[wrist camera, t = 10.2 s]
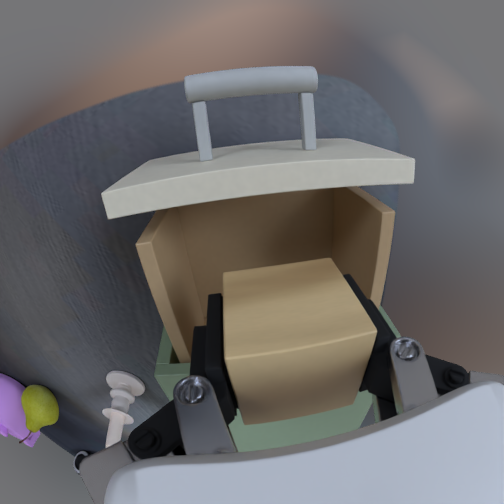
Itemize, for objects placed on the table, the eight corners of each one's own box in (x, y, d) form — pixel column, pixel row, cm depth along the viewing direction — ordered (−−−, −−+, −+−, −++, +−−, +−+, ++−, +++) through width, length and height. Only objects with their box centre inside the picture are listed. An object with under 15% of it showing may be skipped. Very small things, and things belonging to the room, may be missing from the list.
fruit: (56, 384, 29) (35, 447, 19) (69, 405, 32) (53, 462, 22) (24, 371, 28) (0, 428, 18) (38, 393, 31) (20, 446, 21)
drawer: (139, 99, 14) (82, 93, 8) (343, 79, 15) (412, 67, 8) (189, 317, 23) (181, 392, 16) (340, 295, 24) (376, 361, 17)
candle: (111, 364, 27) (91, 439, 18) (150, 381, 29) (139, 456, 20) (103, 382, 29) (86, 448, 20) (138, 397, 31) (128, 463, 21)
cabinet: (174, 280, 22) (153, 375, 14) (346, 257, 23) (401, 335, 14) (209, 381, 29) (209, 455, 21) (332, 363, 30) (357, 431, 21)
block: (222, 271, 11) (223, 359, 7) (330, 256, 11) (378, 330, 7) (237, 347, 13) (244, 426, 9) (325, 332, 13) (353, 404, 9)
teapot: (5, 356, 26) (-20, 407, 17) (64, 421, 36) (52, 465, 26) (-28, 348, 26) (-51, 388, 16) (24, 410, 35) (12, 447, 26)
